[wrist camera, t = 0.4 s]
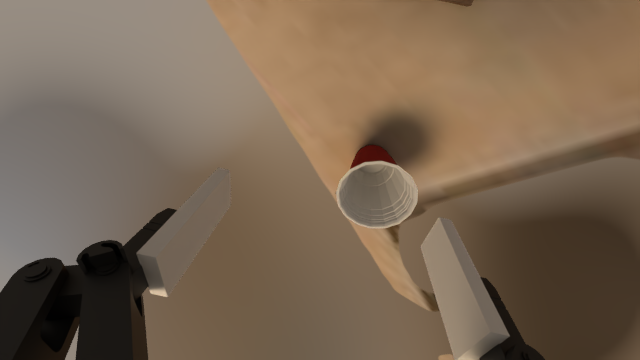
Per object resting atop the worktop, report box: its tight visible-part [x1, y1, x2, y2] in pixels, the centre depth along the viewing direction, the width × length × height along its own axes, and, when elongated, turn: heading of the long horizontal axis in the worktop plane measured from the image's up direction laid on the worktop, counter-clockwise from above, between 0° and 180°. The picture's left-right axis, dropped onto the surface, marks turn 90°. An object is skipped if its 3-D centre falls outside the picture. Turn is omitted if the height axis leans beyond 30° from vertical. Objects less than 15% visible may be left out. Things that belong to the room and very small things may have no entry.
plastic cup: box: [336, 145, 418, 228], centre depth 37 cm, size 11×11×12 cm
